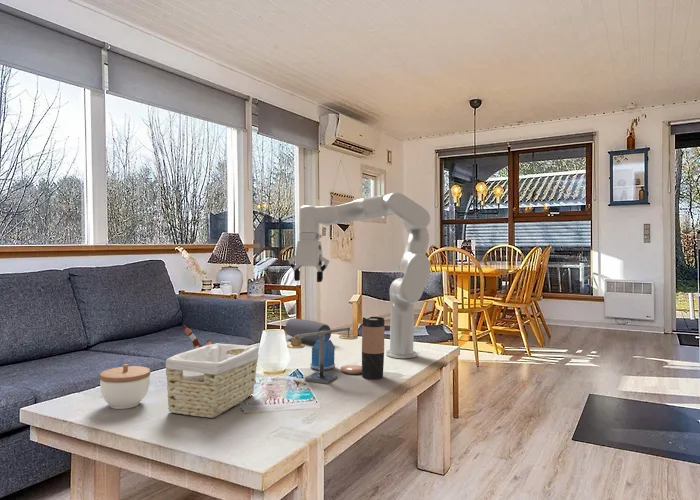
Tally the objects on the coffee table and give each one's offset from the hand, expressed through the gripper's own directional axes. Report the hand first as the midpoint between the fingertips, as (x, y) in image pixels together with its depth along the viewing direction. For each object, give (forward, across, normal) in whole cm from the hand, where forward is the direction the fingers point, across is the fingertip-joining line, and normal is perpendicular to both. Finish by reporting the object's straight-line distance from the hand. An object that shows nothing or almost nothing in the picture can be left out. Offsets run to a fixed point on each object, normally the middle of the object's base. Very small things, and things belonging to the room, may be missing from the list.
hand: (308, 281), depth 191 cm
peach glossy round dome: (+30, -24, +10) cm, 40 cm away
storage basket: (+31, -1, +59) cm, 67 cm away
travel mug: (+31, -32, +14) cm, 46 cm away
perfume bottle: (+29, -12, +10) cm, 33 cm away
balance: (+30, -18, +24) cm, 42 cm away
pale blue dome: (+30, -12, +10) cm, 34 cm away
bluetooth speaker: (+31, +15, -30) cm, 45 cm away
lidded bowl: (+31, +20, +70) cm, 79 cm away
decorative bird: (+31, +20, +38) cm, 53 cm away
